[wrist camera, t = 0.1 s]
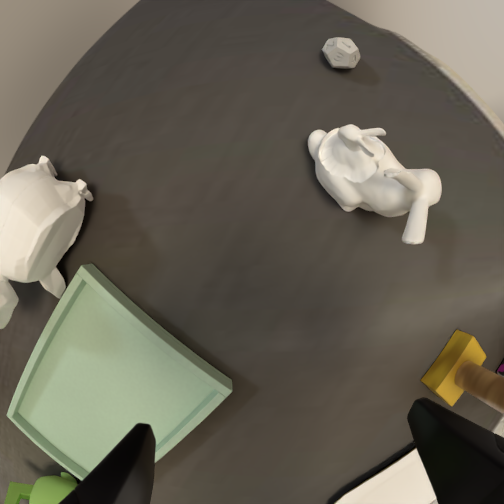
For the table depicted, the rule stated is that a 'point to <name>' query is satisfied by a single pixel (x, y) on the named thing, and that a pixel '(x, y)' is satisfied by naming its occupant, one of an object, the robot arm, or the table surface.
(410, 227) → the white figurine
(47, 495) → the teapot
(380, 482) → the plate
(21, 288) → the table surface
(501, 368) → the candy bar box
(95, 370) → the tray
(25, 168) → the white turtle figurine
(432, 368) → the sponge wand
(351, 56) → the game die
